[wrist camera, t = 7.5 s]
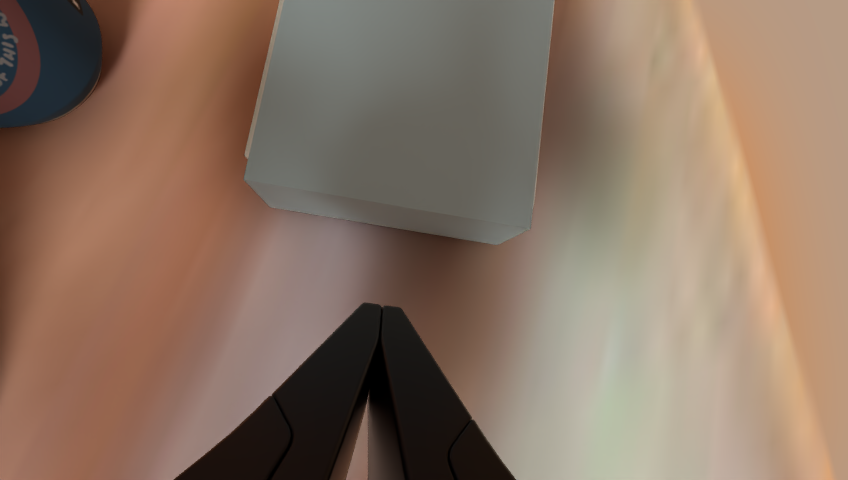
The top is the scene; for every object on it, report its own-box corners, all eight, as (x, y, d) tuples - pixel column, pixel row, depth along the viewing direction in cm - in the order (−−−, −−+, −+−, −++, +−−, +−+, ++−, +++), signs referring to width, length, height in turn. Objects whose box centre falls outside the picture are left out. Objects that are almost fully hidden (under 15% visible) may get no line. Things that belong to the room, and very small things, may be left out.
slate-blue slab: (530, 229, 15) (559, -59, 17) (243, 179, 14) (311, -120, 16) (497, 245, 19) (524, 9, 21) (270, 207, 18) (322, -37, 20)
